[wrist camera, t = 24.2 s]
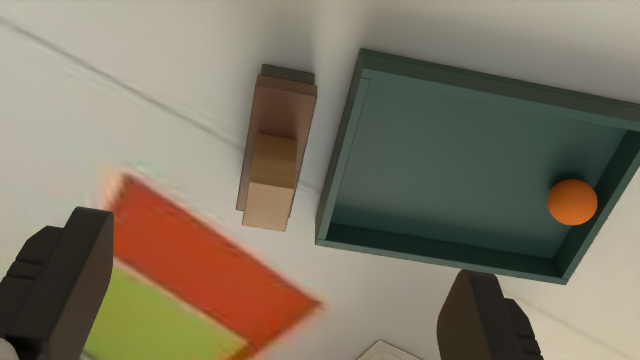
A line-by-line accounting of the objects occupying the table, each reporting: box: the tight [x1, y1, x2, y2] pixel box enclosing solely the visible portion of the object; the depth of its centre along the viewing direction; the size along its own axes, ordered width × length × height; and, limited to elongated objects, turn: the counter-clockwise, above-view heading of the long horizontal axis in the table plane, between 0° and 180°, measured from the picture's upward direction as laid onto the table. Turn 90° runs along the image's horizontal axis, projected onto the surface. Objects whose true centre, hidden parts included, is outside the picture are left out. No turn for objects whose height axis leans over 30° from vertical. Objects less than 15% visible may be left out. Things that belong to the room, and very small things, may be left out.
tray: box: [315, 49, 640, 285], centre depth 39 cm, size 13×18×3 cm
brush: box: [236, 64, 317, 232], centre depth 35 cm, size 9×4×8 cm, turn 168°
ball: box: [547, 179, 597, 225], centre depth 39 cm, size 3×3×3 cm
